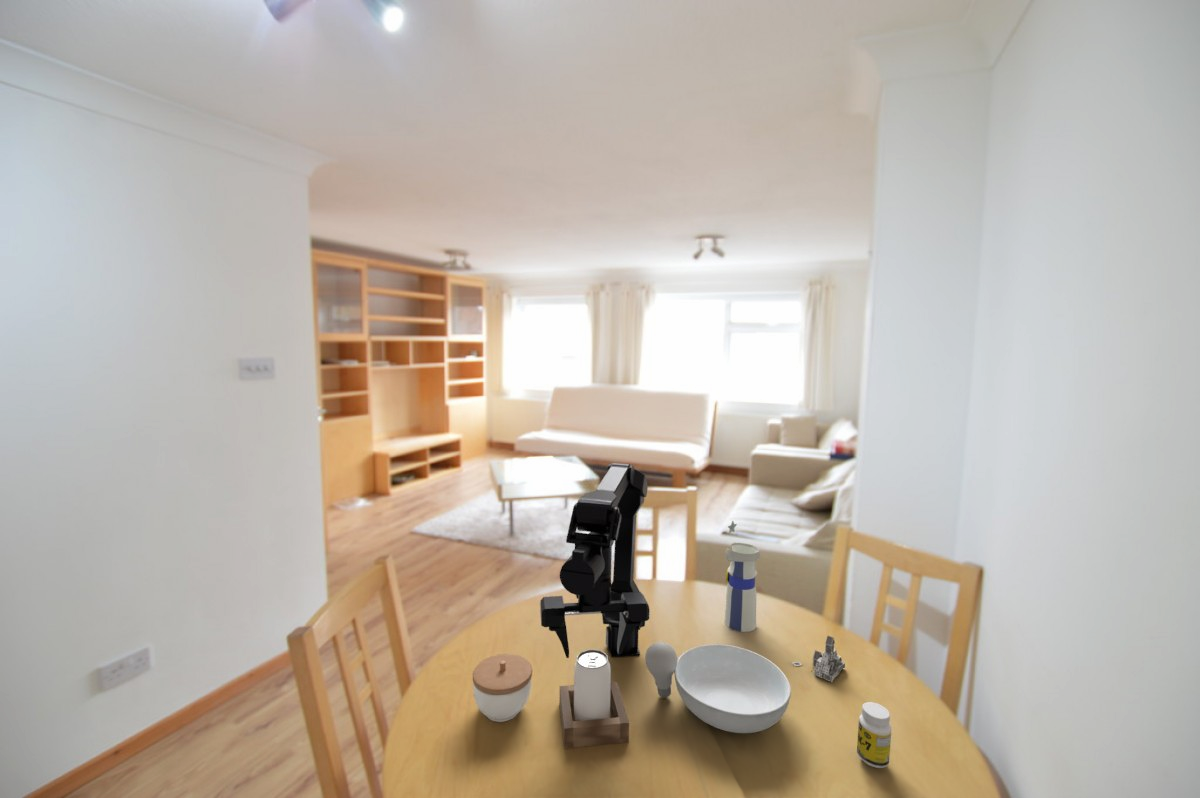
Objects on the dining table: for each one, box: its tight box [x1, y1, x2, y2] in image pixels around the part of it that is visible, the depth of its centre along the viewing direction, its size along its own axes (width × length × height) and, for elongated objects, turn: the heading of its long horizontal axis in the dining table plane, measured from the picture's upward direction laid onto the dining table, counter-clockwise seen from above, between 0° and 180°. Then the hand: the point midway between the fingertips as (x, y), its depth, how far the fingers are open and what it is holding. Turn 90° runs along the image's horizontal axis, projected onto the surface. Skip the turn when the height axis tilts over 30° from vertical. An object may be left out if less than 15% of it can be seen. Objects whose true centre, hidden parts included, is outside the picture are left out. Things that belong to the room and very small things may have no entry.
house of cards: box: [791, 635, 846, 683], centre depth 109 cm, size 9×9×8 cm
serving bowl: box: [673, 643, 792, 734], centre depth 94 cm, size 21×21×7 cm
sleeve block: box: [558, 681, 630, 749], centre depth 91 cm, size 11×11×4 cm
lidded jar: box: [472, 653, 533, 723], centre depth 93 cm, size 11×11×9 cm
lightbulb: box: [644, 641, 678, 699], centre depth 97 cm, size 6×6×11 cm
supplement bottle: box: [856, 701, 892, 769], centre depth 83 cm, size 5×5×8 cm
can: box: [573, 649, 612, 721], centre depth 90 cm, size 6×6×12 cm
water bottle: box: [723, 520, 761, 633], centre depth 124 cm, size 8×9×25 cm
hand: (593, 654), depth 89 cm, fingers open, 9 cm apart
